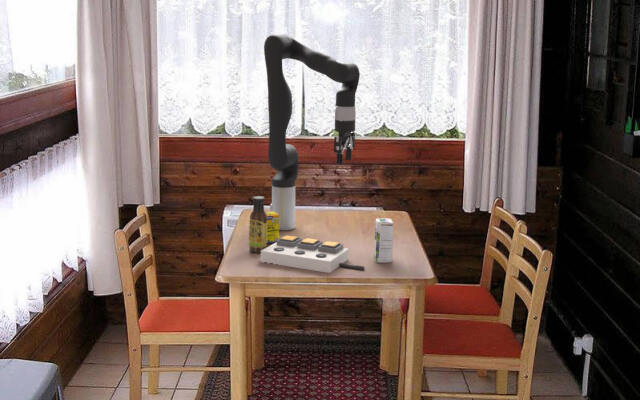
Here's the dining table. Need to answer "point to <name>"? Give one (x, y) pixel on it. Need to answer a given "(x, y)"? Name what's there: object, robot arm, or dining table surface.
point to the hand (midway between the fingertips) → (344, 162)
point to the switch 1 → (289, 238)
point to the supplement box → (272, 227)
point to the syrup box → (383, 240)
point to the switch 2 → (310, 241)
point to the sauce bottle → (258, 226)
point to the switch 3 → (331, 244)
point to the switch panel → (307, 256)
